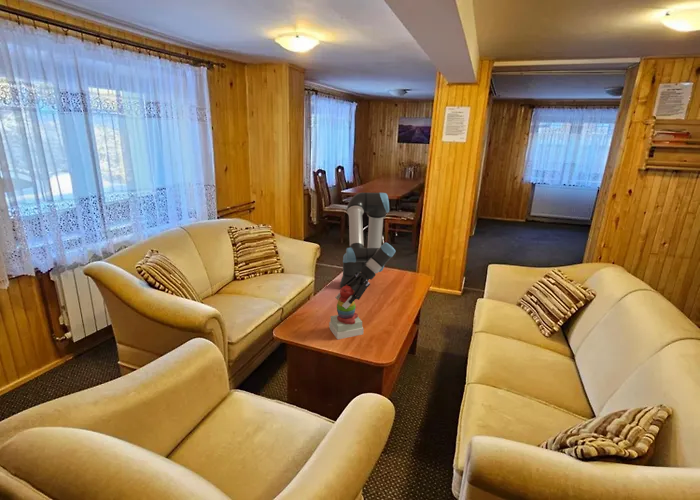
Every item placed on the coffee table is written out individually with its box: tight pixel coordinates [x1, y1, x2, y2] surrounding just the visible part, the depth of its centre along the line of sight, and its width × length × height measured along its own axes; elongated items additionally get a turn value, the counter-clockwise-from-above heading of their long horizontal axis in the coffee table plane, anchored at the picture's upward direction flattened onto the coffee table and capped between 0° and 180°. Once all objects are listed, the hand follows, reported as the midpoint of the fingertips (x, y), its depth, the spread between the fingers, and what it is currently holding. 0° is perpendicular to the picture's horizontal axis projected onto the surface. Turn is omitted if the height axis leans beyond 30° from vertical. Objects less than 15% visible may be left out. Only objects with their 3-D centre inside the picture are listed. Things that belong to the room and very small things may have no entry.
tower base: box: [328, 314, 364, 340], centre depth 192 cm, size 12×14×7 cm
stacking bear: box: [336, 285, 359, 324], centre depth 188 cm, size 11×10×18 cm
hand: (340, 303), depth 187 cm, fingers open, 9 cm apart
